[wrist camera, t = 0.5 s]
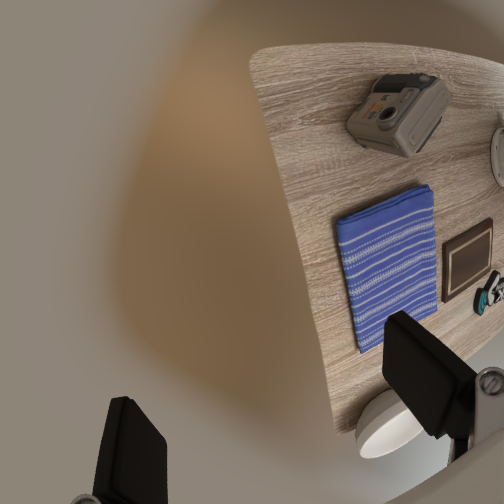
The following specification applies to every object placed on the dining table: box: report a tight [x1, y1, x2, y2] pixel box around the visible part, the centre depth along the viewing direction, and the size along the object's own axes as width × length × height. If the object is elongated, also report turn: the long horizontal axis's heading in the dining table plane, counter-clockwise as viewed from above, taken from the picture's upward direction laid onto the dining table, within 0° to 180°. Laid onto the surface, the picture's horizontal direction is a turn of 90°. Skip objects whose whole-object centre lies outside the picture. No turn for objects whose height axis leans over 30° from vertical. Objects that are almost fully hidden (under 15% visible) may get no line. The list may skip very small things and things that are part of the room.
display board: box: [442, 218, 493, 303], centre depth 43 cm, size 12×16×1 cm
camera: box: [346, 73, 452, 158], centre depth 27 cm, size 11×6×10 cm, turn 139°
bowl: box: [355, 389, 424, 458], centre depth 48 cm, size 19×19×9 cm
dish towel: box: [335, 184, 438, 354], centre depth 39 cm, size 17×24×3 cm
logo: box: [474, 270, 504, 316], centre depth 49 cm, size 25×2×10 cm
